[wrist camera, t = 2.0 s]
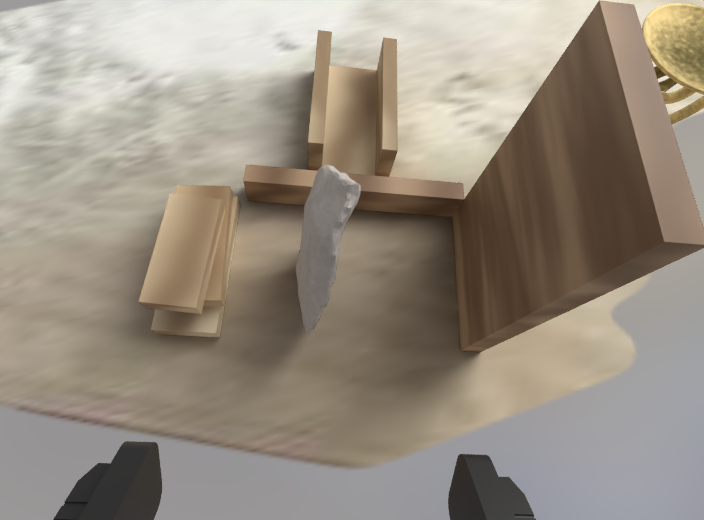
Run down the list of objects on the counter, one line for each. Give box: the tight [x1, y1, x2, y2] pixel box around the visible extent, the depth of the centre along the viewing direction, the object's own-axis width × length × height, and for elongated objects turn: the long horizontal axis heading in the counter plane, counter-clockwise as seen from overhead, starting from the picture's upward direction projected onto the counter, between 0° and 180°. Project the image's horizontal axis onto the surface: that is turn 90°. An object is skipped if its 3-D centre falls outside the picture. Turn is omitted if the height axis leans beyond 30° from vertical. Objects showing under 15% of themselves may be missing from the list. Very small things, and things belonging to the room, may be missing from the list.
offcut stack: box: [138, 185, 240, 338], centre depth 31 cm, size 5×11×4 cm, turn 178°
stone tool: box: [296, 165, 361, 333], centre depth 26 cm, size 9×3×15 cm, turn 6°
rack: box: [244, 0, 704, 352], centre depth 25 cm, size 19×13×20 cm
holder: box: [308, 30, 398, 177], centre depth 37 cm, size 7×12×4 cm, turn 178°
